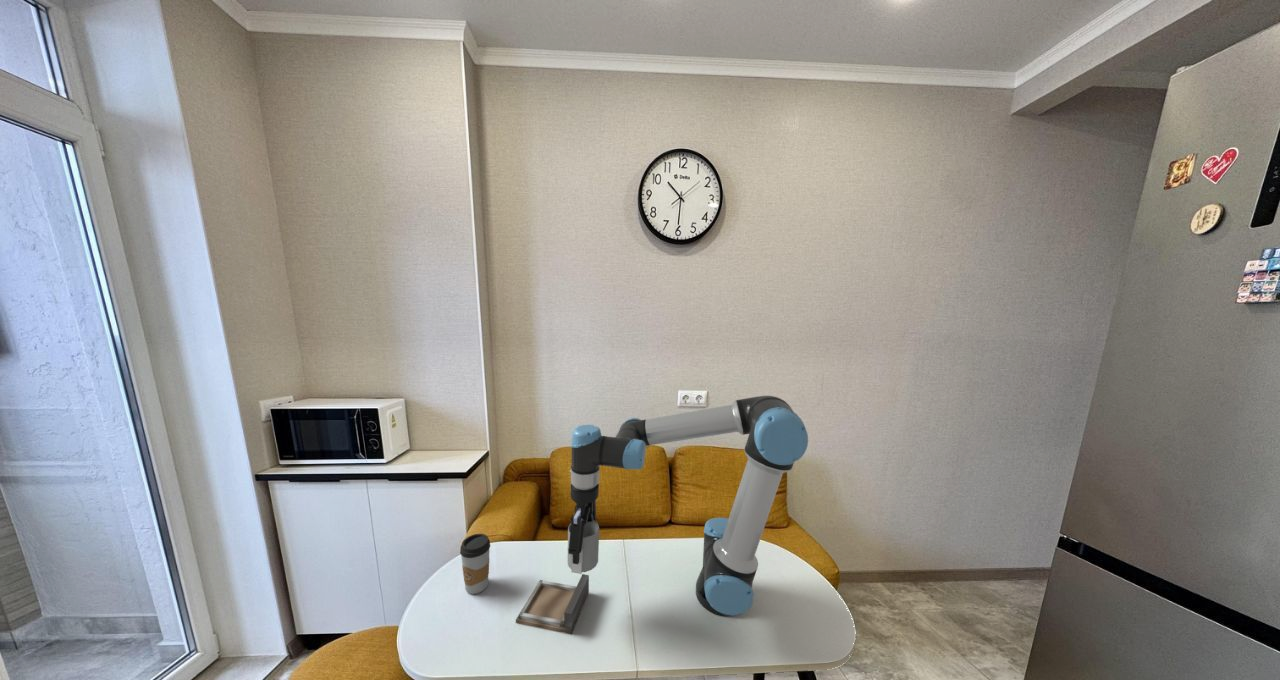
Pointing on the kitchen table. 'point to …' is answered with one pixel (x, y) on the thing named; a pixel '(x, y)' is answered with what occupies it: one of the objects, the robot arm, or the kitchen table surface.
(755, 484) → the robot arm
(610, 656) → the kitchen table surface
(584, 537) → the cup
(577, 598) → the brown flat tray-like piece
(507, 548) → the kitchen table surface
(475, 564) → the coffee cup
